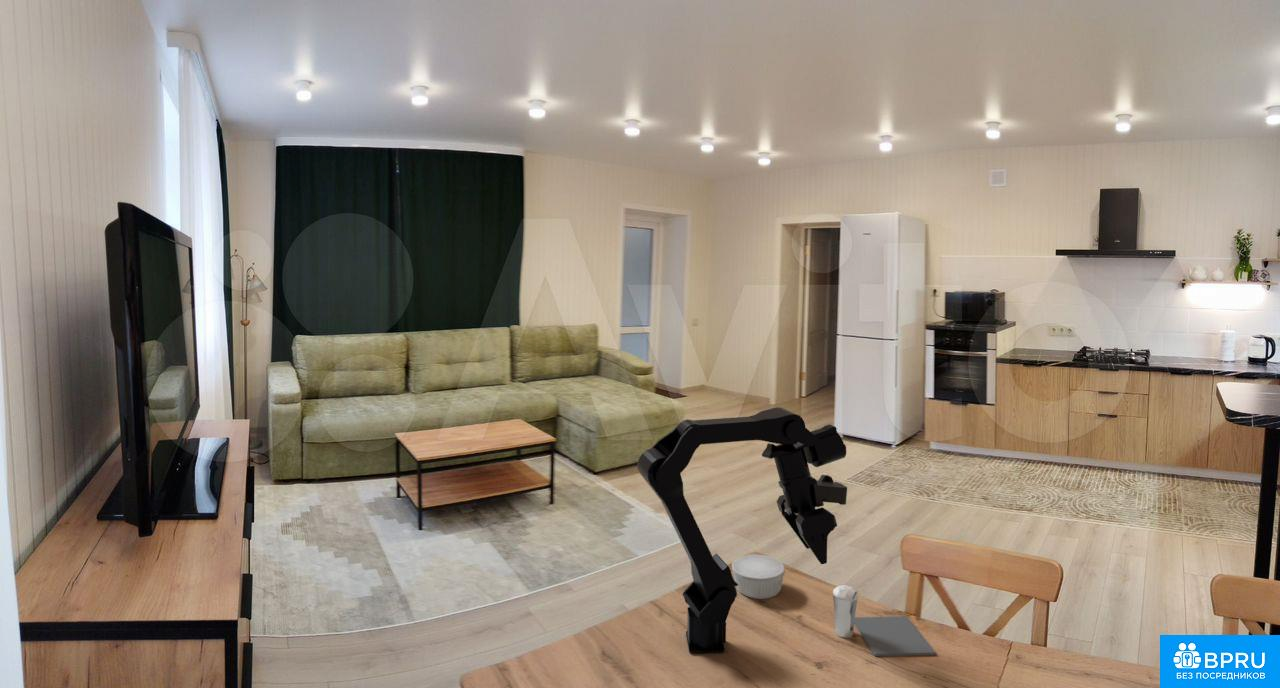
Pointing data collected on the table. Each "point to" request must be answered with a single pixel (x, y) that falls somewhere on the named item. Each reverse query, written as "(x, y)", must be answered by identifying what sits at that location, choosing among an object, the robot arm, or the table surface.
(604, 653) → the table surface
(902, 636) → the mat
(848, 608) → the milkshake
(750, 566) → the ramekin
